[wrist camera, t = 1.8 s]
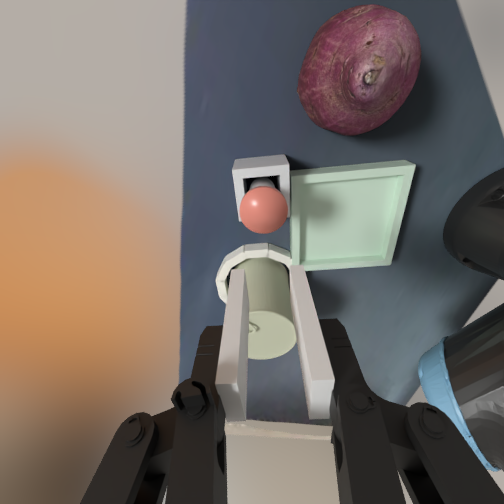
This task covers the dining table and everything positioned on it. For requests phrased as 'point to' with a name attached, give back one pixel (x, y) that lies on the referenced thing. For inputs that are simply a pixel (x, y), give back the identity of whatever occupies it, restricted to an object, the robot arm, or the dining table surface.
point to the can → (268, 308)
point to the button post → (261, 175)
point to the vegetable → (359, 69)
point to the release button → (263, 207)
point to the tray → (347, 214)
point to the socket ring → (243, 254)
